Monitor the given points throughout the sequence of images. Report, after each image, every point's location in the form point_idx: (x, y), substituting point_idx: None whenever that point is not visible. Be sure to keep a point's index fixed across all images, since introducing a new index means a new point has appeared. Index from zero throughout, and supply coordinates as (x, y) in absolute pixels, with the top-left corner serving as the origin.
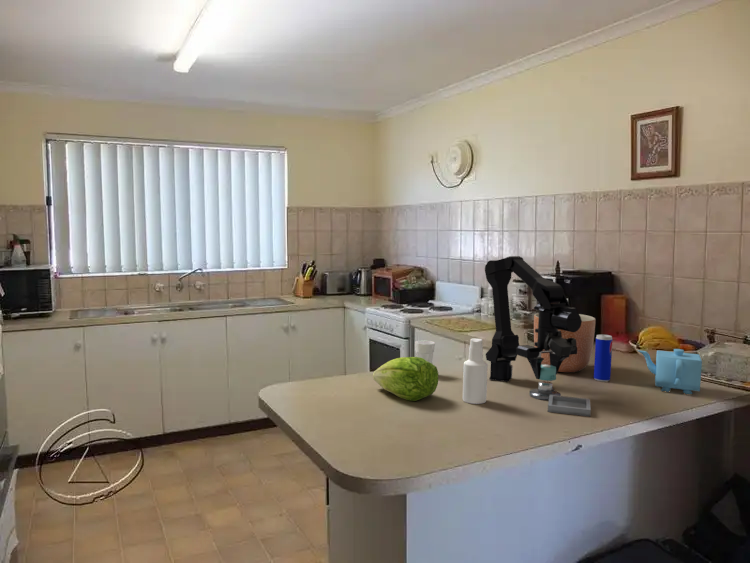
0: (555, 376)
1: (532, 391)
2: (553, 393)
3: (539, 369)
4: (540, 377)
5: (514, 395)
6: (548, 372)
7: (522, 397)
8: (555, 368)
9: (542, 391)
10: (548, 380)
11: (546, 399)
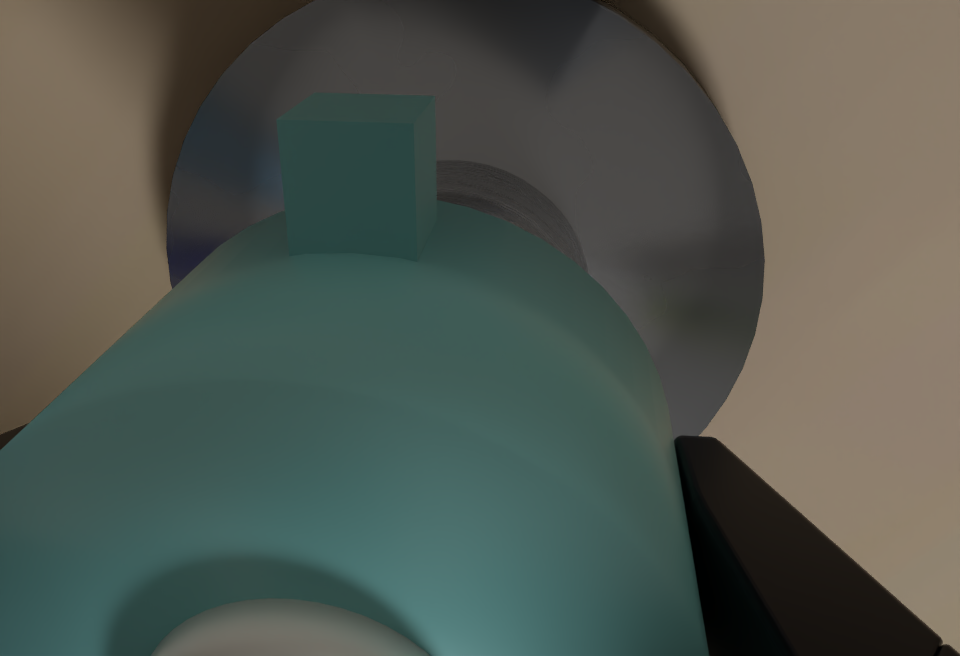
0: (313, 120)
1: None
2: None
3: (844, 626)
4: (671, 442)
5: (934, 498)
6: (514, 354)
7: (911, 364)
8: (67, 407)
9: (576, 259)
10: (517, 232)
11: (647, 32)
